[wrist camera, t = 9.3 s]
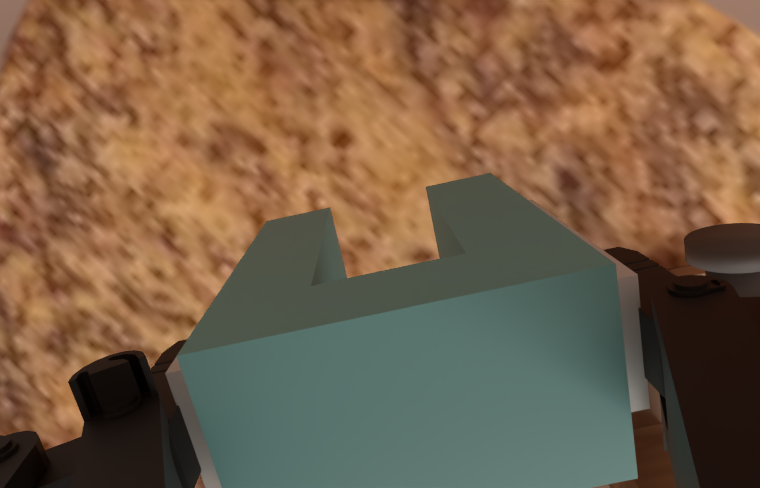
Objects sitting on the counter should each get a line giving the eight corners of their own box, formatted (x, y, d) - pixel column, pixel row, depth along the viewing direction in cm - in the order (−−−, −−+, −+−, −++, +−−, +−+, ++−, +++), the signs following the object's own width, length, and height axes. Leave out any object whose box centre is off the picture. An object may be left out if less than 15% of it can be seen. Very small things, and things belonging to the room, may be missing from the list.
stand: (538, 506, 31) (666, 807, 18) (489, 203, 27) (612, 317, 14) (721, 469, 31) (983, 747, 18) (703, 157, 26) (1036, 228, 13)
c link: (298, 337, 19) (245, 556, 10) (266, 221, 18) (176, 356, 9) (509, 293, 19) (638, 478, 10) (490, 172, 18) (615, 264, 9)
